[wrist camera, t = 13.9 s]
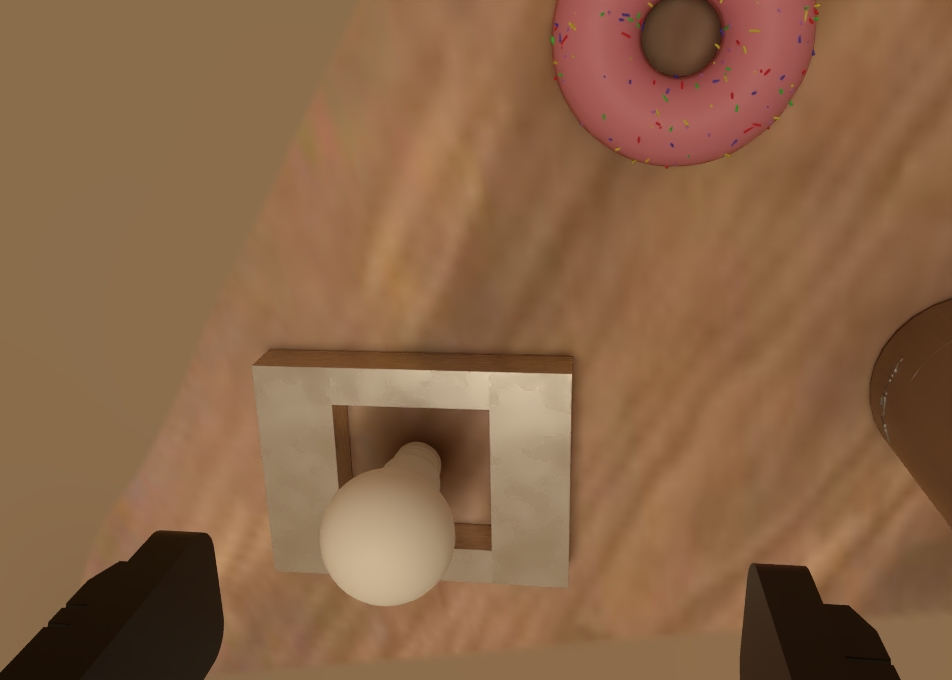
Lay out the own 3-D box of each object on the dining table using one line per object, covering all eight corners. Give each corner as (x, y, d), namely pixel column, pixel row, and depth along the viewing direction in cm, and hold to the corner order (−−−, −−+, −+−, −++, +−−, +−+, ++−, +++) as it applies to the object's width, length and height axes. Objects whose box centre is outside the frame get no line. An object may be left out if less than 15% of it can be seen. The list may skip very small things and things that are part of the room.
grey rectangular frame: (572, 356, 43) (571, 374, 41) (569, 560, 47) (568, 587, 44) (269, 349, 45) (251, 365, 43) (290, 545, 49) (274, 570, 46)
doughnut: (649, 208, 40) (655, 226, 36) (503, 20, 38) (493, 17, 35) (855, 52, 37) (886, 53, 33) (706, -162, 35) (720, -189, 31)
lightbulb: (355, 486, 47) (288, 610, 37) (380, 389, 45) (317, 492, 35) (460, 519, 47) (423, 653, 37) (490, 423, 45) (460, 537, 34)
